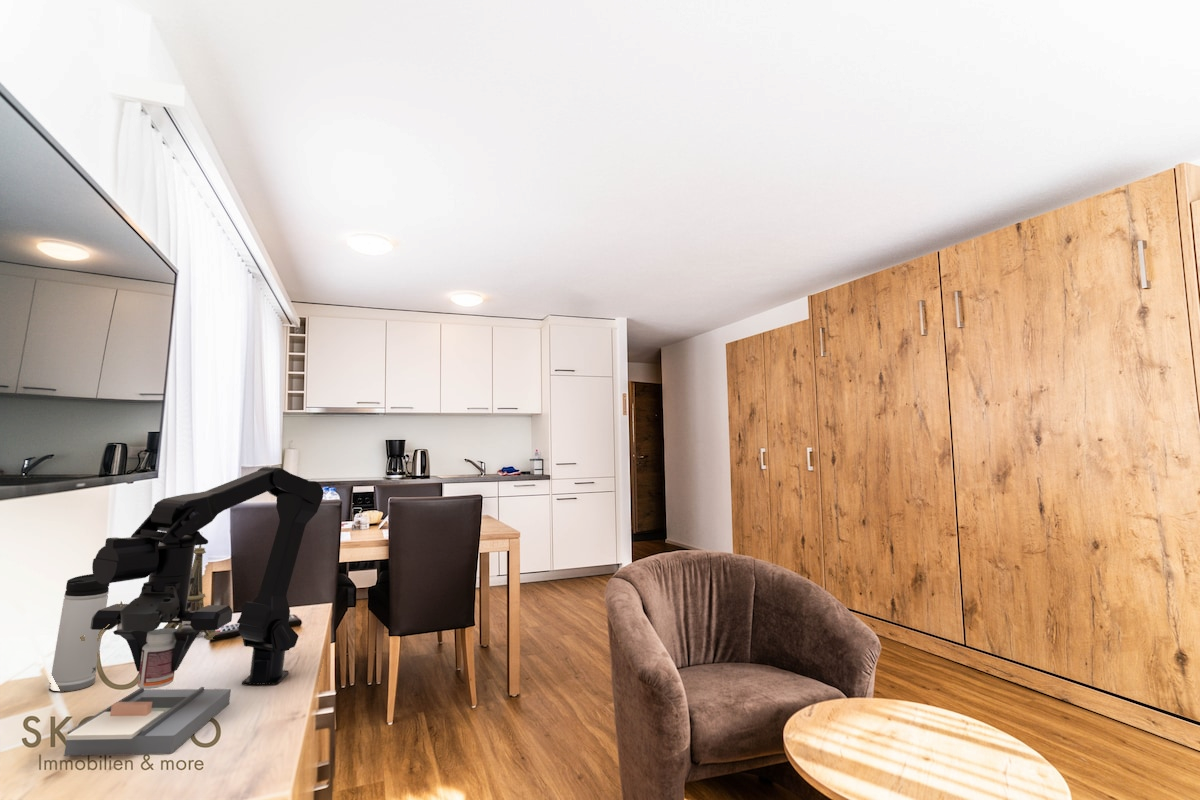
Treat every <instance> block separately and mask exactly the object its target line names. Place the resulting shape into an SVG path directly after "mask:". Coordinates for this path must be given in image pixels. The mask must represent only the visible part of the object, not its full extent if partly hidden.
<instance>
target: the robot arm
mask: <svg viewBox="0 0 1200 800" xmlns="http://www.w3.org/2000/svg"><path fill="white" fill-rule="evenodd" d="M265 493H268V494H269V495H272V496H274V497H276V498H277V499H276V503H275V505H276V511H277V515H278V519H279V523H278V526H277V530H276V534H275V537H274V540H273V544H272V548H271V550H270V553H269V558H268V560H267V565H266V568H265V572H264V575H263V578H262V582H261V586H260V588H259V591H258V594H257V595H256V596H255V597H254V598H253V599H252V600H251V601H244V603H243V604H242V607H241V613H240V616H239V618H238V619H237V621H236V624H238V634H240V636H241V638H242V642H243V646H244V647H249V648H252V655H251V662H250V672H249V675H248V676H247V677H246V678H244V679H243V680H242V682H241V685H277V684H279V683H280V682H281V681H282V680H283V679H284V678H286V677H287V675H288V674H289V673H290V671H289V670H287V669H286V670H284V664H285V657H286V651H290V649H292V648H295V647H296V645H297V642H298V639H299V635H298V633H297V632H296V631H295V630H294V629H293V628H292V627H291V626H290V622H289V621H290V615H291V610H290V605H289V600H288V598H287V594H288V590H289V587H290V584H291V583H290V582H291V580H292V576H293V573H294V569H295V565H296V561H297V558H298V555H299V551H300V547H301V543H302V539H303V537H304V533H305V528H306V526H307V525H308V523H309V522H310V521H311V520H312V518H314V516H315V515H316V514H317V513H318V511H319V508H320V506H321V504H322V502H323V498H324V489H323V487H322V486H321V484H320V483H319V482H317V481H314V480H313V481H312V480H309V479H306V478H303V477H301V476H298V475H295V474H292V473H291V472H288V471H287V470H285V469H284V468H281V467H275V466H274V467H273V466H263V467H261V468H259V469H258V470H256V471H253V472H251V473H249V474H245V475H244V476H240V477H239V478H238V477H237V478H236V479H233V480H230V481H228V482H226V483H224V484H221V485H219V486H215V487H213V488H210V489H208V490H205V491H200V492H193V493H192V492H191V493H185V494H180V495H173V496H170V497H166V498H163V499H160V500H159V501H157V502H156V503H155V504H154V505H153V506H154V507H153V509H152V510H151V513H150V514H149V515H148V517H147V518H146V519H145V520H144V521H143V522H142V523H141V525H140V526H139V527H138V528H137V529H136V530H135V531H134V532H133V533H131V536H130V537H108V538H106V539H105V544H104V546H102V547H101V548H100V549H99V550H98V551H97V553H96V555H95V558H93V559H92V574H93V575H94V578H95V579H96V581H97V582H98V583H100V584H107V583H110V584H112V583H119V582H126V581H134V580H139V579H140V580H141V579H146V578H147V577H148V581H146V582H143V585H142V586H141V591H140V594H139V596H138V597H136V598H134V599H133V600H132V601H130V602H129V603H115V604H112V605H110V606H106V608H104V609H101V610H98V611H97V612H96V613H95V614H94V616H93V617H92V620H91V627H90V629H92V630H103V628H105V627H106V626H107V625H108V624H110V625H109V626H108V627H107V628H105V629H104V630H105V631H107V630H112V629H113V628H115V627H116V630H114V631H112V632H113V634H114V635H117V636H120V637H122V638H123V640H126V642H127V645H128V646H129V649H130V653H131V655H132V659H133V662H134V665H135V669H136V671H137V672H138V673H139V670H140V662H141V655H142V648H143V646H144V645H145V644H147V642H146V639H147V633H148V632H150V631H153V630H156V629H159V627H160V625H161V624H163V623H164V624H168V623H182V629H180V630H178V631H176V632H174V636H175V639H176V643H175V648H174V653H173V659H172V669H171V671H172V672H174V671H175V672H176V671H177V670H178V668H179V667H180V665H181V664H182V662H183V660H184V659H185V656H186V655H187V653H188V652H189V649H190V648H191V646H192V644H193V643H194V642H195V640H196V639H197V637H198V636H199V634H201V632H200V631H202V630H215V631H216V630H218V629H221V628H222V627H224V626H226V625H228V624H230V623H231V622H232V619H233V610H232V608H231V607H230V605H226V604H225V605H222V604H221V605H220V604H219V605H218V604H215V605H214V604H208V605H206V606H205V605H204V607H203V608H201V609H199V610H197V611H195V610H189V611H186V609H188V608H189V609H190V608H191V605H192V603H191V601H188V594H189V586H190V584H192V583H194V577H191V571H192V567H193V563H194V557H195V553H194V550H195V548H196V546H199V545H201V546H202V545H207V544H208V543H209V540H208V539H207V538H205V537H204V536H203V534H202V533H200V530H201V529H203V528H204V527H206V526H208V525H209V524H210V523H213V521H214V520H215V518H216V517H217V515H219V514H221V513H222V512H224V511H226V510H229V509H230V508H233V507H236V506H237V505H240V504H242V503H244V502H246V501H248V500H250V499H253V498H256V497H258V496H260V495H262V494H265ZM120 605H122V606H121V607H120ZM123 606H124V607H123ZM104 630H103V631H104ZM175 672H174V673H175Z"/></svg>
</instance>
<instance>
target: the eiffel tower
mask: <svg viewBox="0 0 1200 800" xmlns="http://www.w3.org/2000/svg"><path fill="white" fill-rule="evenodd" d="M206 553H207V552H206V548H205V547H202V545H198V547H195V549H194V558H193V564H192V571H191V577H194V583H192V584H190V586H189V594H188V601H191V604H193V603H194V611H197V610H199V609H201V608H203V607H205V605H204V598H206V594H205V593H203V557H204V556H203V555H204V554H206ZM186 611H190V608H188V609H186ZM163 628H174V629H177V631H178V630H180V629H182V623H166V624H165V625H164V627H163ZM200 633H204V635H203V638H204V639H205V640H207V641H211V640H214V639H213V637H214V636H215V635H218V633H217V631H216V630H202V631H200ZM175 640H176V639H175Z"/></svg>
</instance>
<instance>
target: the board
mask: <svg viewBox="0 0 1200 800" xmlns="http://www.w3.org/2000/svg"><path fill="white" fill-rule="evenodd" d="M231 691H232V689H230V688H213V689H212V688H205V687H204V686H201V687H199V688H195V689H193V688H192V689H190V688H188V689H187V688H186V689H185V688H184V689H183V688H182V689H179V688H177V689H175V688H174V689H173V688H172V689H171V688H169V689H167V688H166V689H163V688H161V689H160V688H152V689H143V688H140V687H138V689H136V690H135V691H133V692H132V693H130V694H128V695H127V696H125V697H123V698H122V699H120V700H118V701H117V702H152V708H151V711H164V715H162V716H161V717H159V718H158V719H157V720H155V721H154V722H153V723H151V724H150V725H148V726H147V727H146V728H144V729H143V730H142V731H141V732H140V733H139V734H137V735H136V736H135V737H133V738H132V739H96V740H65V747H64V754H63V756H64V757H67V756H110V755H111V756H113V755H114V756H117V755H124V756H125V755H157V754H158V755H163V754H164V755H165V754H167V755H168V754H169V755H170V754H172V753H174V752H175V751H176V750H177V749H179V747H181V746H183V744H184V743H186V741H189V739H190V738H191V737H193V734H194V733H195V734H196V733H197V732H199V730H200V729H202V728H203V727H204V726H205V725H206V724H208V723H207V722H208V721H209V719H211V718H212V719H214V718H215V717H216V716H217V715H218V714H219V713H220V712H221V711H223V710H224V709H225V708H226V707H227V706H228V705H230V701H231ZM112 705H113V704H110V706H108V707H107V708H105V709H104V710H101V711H100V712H98V713H97V714H95V715H93V716H92V717H90V718H88V719H87V720H85V721H84V722H82V723H80V724H78V725H77V726H75V727H74V728H72V729H71V730H69V731H68V732H67V734H66V735H68V734H69V733H71V732H73V731H74V730H76V729H77V728H79V727H81V726H82V725H84V724H86V723H87V722H89V721H91V720H92V719H94V718H95V717H97V716H99V715H100V714H102V713H104V712H111V706H112ZM212 719H211V720H212ZM209 722H210V721H209ZM195 734H194V735H195Z"/></svg>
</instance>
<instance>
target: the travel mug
mask: <svg viewBox="0 0 1200 800" xmlns="http://www.w3.org/2000/svg"><path fill="white" fill-rule="evenodd" d="M110 584H111V583H107V584H100V583H98V582H97V581H96V579H95V578H94V575H93V573H91V574H89V573H88V574H84V575H83V574H82V575H79V576H78V575H77V576H75V577H72V578H69V579H68V580H66V586H65V593H64V595H63V596H64V597H63V601H62V602H63V603H62V607H61V615H60V620H59V625H58V632H57V637H56V638H57V639H56V643H55V644H56V645H55V651H54V658H53V663H52V669H51V674H52V676H53V678H54V680H55V682H56V684H57V685H58V687H59V689H60V691H61V692H60V693H65V692H64V691H68V692H74V691H79V689H80V690H83V689H86V688H88V687H90V686H92V685H93V684H94V683H95V682H96V675H97V674H96V673H97V670H98V669H97V668H98V664H97V652H98V654H99V655H100V650H101V644H102V637H103V633H102V634H101V636H100V639H99V641H98V642H97V638H98V634H99V631H100V630H92V629H90V627H91V620H92V617H93V616H94V614H95V613H96V612H97V611H98V610H101V609H104V608H106V607H108V606H107V605H108V600H109V599H108V598H109V597H108V594H109V593H110V591H109V586H110ZM83 635H85V636H83ZM81 636H83V637H85V641H81V640H80V637H81Z"/></svg>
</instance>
